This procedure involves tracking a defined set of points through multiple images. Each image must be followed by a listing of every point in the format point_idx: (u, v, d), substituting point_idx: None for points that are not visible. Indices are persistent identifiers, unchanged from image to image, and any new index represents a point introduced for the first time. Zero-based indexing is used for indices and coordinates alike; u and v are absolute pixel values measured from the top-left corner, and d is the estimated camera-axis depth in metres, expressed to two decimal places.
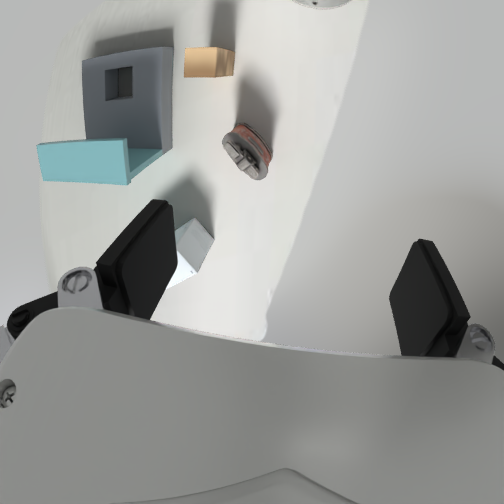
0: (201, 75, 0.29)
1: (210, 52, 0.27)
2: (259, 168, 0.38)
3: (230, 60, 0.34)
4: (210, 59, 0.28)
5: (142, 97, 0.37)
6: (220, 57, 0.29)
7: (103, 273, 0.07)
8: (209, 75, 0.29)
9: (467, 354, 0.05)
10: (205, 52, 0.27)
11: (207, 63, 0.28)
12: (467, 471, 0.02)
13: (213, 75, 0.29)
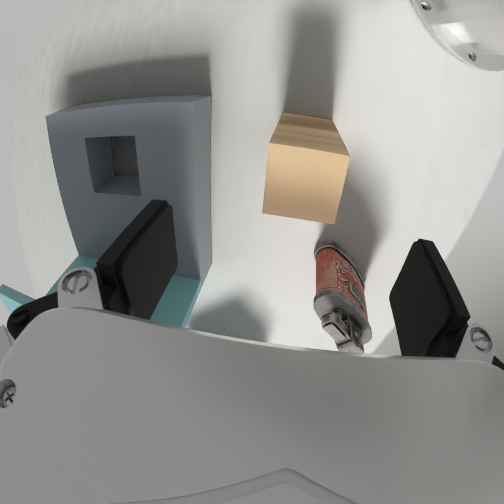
0: (304, 215, 0.15)
1: (332, 166, 0.13)
2: (361, 335, 0.24)
3: None
4: (330, 183, 0.14)
5: (159, 197, 0.23)
6: None
7: (103, 273, 0.07)
8: (322, 218, 0.15)
9: (467, 354, 0.05)
10: (320, 164, 0.13)
11: (322, 191, 0.14)
12: (467, 471, 0.02)
13: (331, 220, 0.15)
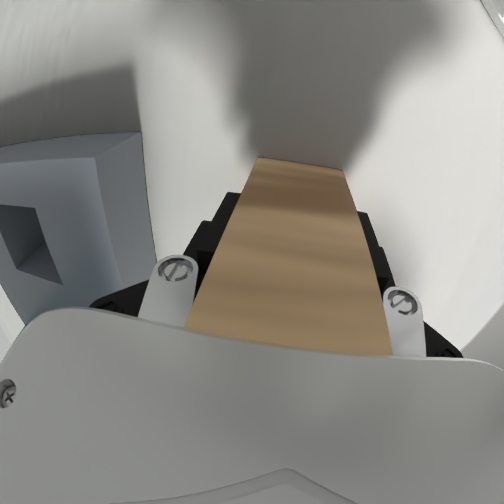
0: None
1: None
2: None
3: None
4: None
5: (83, 290, 0.15)
6: None
7: (202, 261, 0.08)
8: None
9: (394, 324, 0.06)
10: None
11: None
12: (467, 471, 0.02)
13: None
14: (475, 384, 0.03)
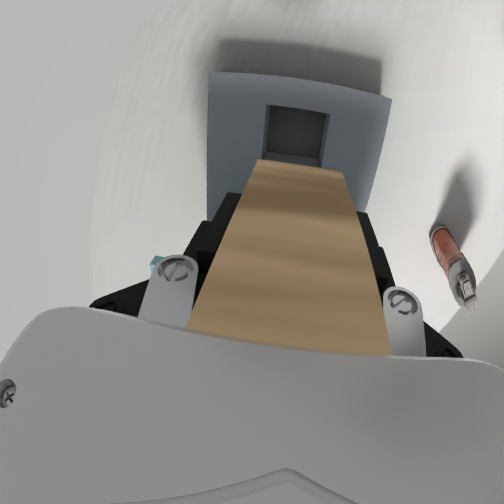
0: None
1: None
2: None
3: None
4: None
5: None
6: None
7: (202, 261, 0.08)
8: None
9: (394, 324, 0.06)
10: None
11: None
12: (467, 471, 0.02)
13: None
14: (475, 384, 0.03)
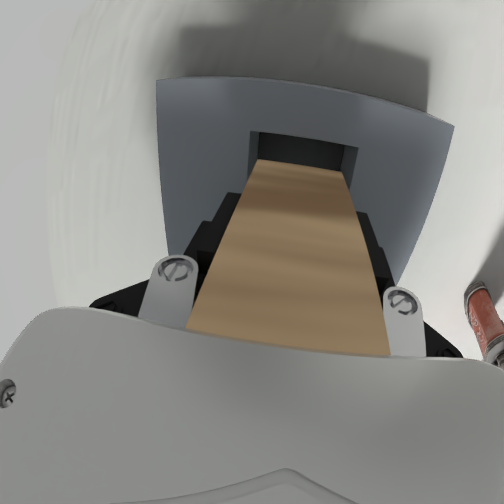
0: None
1: None
2: None
3: None
4: None
5: None
6: None
7: (202, 261, 0.08)
8: None
9: (394, 324, 0.06)
10: None
11: None
12: (467, 471, 0.02)
13: None
14: (475, 384, 0.03)
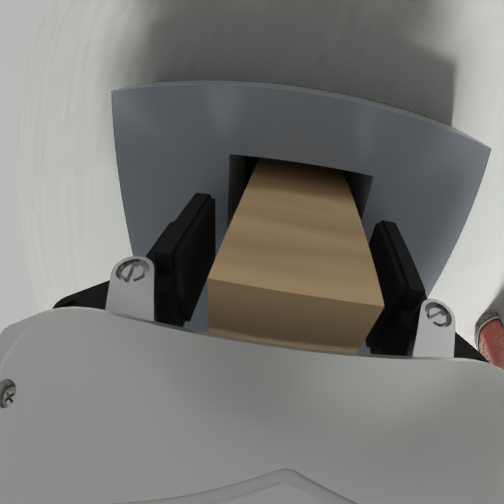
0: None
1: (344, 322, 0.06)
2: None
3: None
4: (335, 345, 0.07)
5: None
6: None
7: (159, 262, 0.08)
8: None
9: (427, 334, 0.06)
10: (319, 319, 0.06)
11: None
12: (467, 471, 0.02)
13: None
14: (475, 384, 0.03)
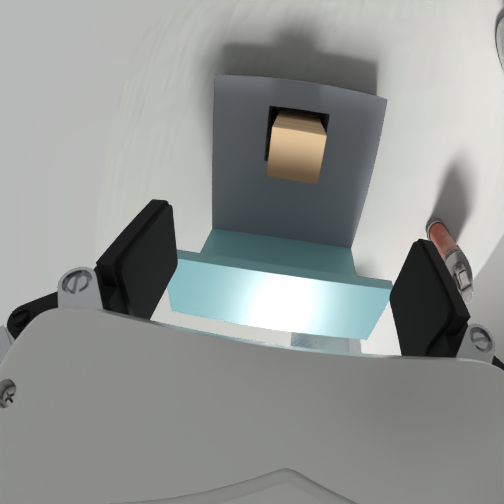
0: (296, 177, 0.21)
1: (315, 142, 0.19)
2: None
3: None
4: (313, 154, 0.20)
5: (339, 171, 0.26)
6: None
7: (103, 273, 0.07)
8: (309, 180, 0.21)
9: (467, 354, 0.05)
10: (306, 141, 0.19)
11: (308, 160, 0.20)
12: (467, 471, 0.02)
13: (315, 181, 0.21)
14: (475, 384, 0.03)
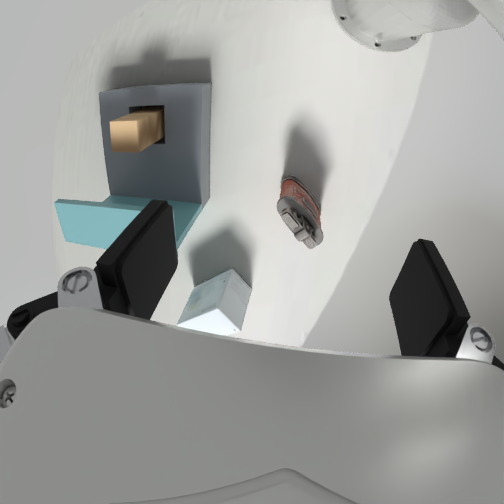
0: (126, 150, 0.30)
1: (131, 126, 0.28)
2: (315, 235, 0.36)
3: (164, 120, 0.35)
4: (132, 134, 0.29)
5: (177, 144, 0.35)
6: (145, 127, 0.30)
7: (103, 273, 0.07)
8: (133, 150, 0.30)
9: (467, 354, 0.05)
10: (127, 126, 0.28)
11: (130, 138, 0.29)
12: (467, 471, 0.02)
13: (137, 150, 0.30)
14: (475, 384, 0.03)
